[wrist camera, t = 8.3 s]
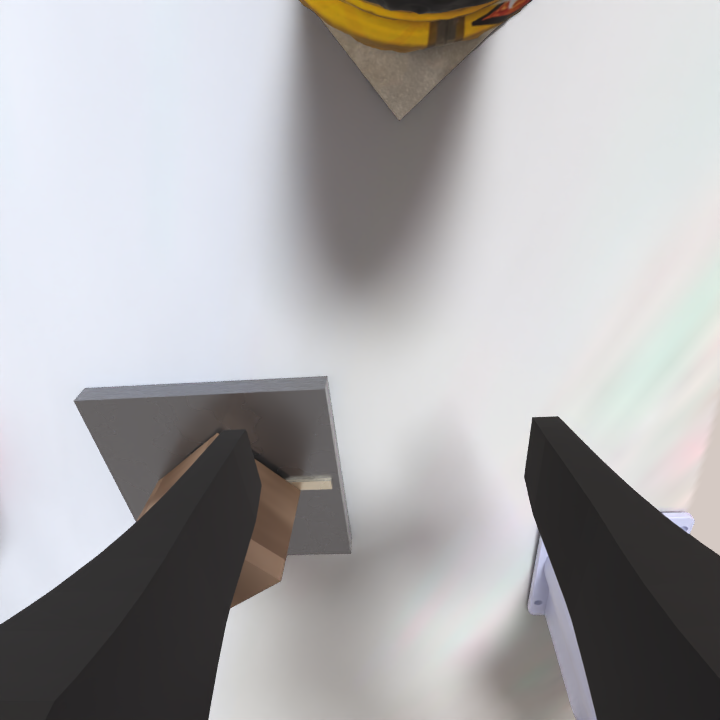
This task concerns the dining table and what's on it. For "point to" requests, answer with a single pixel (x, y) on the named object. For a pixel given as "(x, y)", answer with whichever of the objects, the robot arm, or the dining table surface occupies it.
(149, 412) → the hub plate
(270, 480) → the taped cardboard box
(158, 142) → the dining table surface
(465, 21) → the condiment
